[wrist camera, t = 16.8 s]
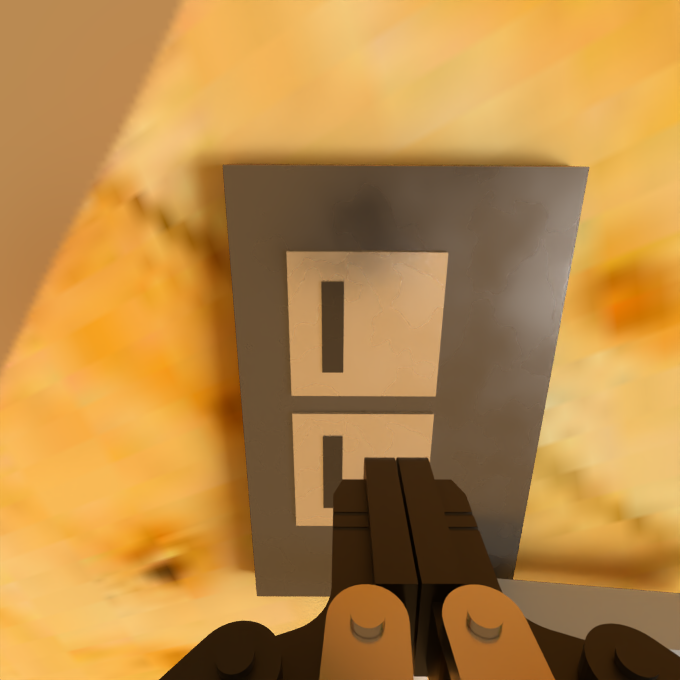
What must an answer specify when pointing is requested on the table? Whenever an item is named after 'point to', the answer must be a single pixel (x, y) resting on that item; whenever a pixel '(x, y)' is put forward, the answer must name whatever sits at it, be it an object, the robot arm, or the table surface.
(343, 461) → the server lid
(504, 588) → the swing arm
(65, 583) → the table surface
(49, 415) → the table surface
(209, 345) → the table surface
